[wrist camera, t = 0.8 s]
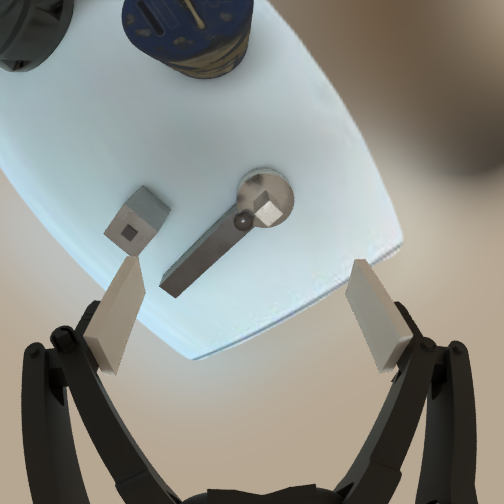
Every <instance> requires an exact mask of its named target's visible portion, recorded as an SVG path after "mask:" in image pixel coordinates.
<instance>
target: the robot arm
mask: <svg viewBox="0 0 504 504" xmlns="http://www.w3.org/2000/svg"><path fill="white" fill-rule="evenodd" d="M72 12H73V0H0V67H1V68H3V69H5V70H7V71H10V72H24V71H28V70H31V69H33V68H35V67H36V66H38V65H39V64H41V63H42V62H43V61H44V60H45V59H46V58H47V57H48V56H49V55H50V54H51V53H52V52H53V51H54V49H55V48H56V47H57V45H58V44H59V43H60V41H61V39H62V38H63V36H64V34H65V32H66V30H67V28H68V26H69V23H70V20H71V17H72ZM145 294H146V292H145V287H144V283H143V278H142V273H141V268H140V263H139V258H138V257H133V256H127V257H126V259H125V260H124V262H123V264H122V265H121V267H120V269H119V270H118V272H117V274H116V275H115V277H114V279H113V281H112V282H111V284H110V286H109V288H108V289H107V291H106V293H105V295H104V297H103V298H102V300H101V301H96V300H95V301H93V302H92V303H91V304H90V305H89V306H88V307H87V309H86V310H85V312H84V314H83V316H82V317H81V320H80V321H79V323H78V325H77V327H76V329H75V330H73V328H72V327H70V326H61V327H58V328H56V329H55V330H54V331H53V332H52V334H51V336H50V341H51V342H52V344H53V346H54V348H52V349H45V348H44V346H43V345H42V344H41V343H39V342H35V343H32V344H30V345H29V346H28V347H27V348H26V349H25V352H24V359H23V371H22V392H21V398H22V399H21V407H22V408H21V409H22V411H21V413H22V434H23V447H24V456H25V463H26V470H27V476H28V482H29V487H30V492H31V496H32V500H33V504H90V502H89V499H88V496H87V493H86V490H85V486H84V482H83V479H82V475H81V471H80V468H79V464H78V459H77V455H76V450H75V445H74V440H73V435H72V429H71V423H70V416H69V409H68V400H67V390H66V387H67V386H69V389H70V391H71V394H72V397H73V399H74V402H75V404H76V407H77V409H78V411H79V414H80V416H81V418H82V421H83V423H84V425H85V427H86V429H87V431H88V433H89V436H90V438H91V439H92V442H93V444H94V445H95V447H96V449H97V451H98V453H99V455H100V457H101V459H102V460H103V462H104V464H105V466H106V467H107V469H108V471H109V472H110V474H111V476H112V477H113V479H114V481H115V483H116V484H115V487H116V489H117V491H118V493H119V494H120V496H121V497H122V499H123V500H124V502H125V503H126V504H388V503H389V501H390V499H391V497H392V496H393V494H394V492H395V490H396V487H397V486H398V483H399V481H400V479H401V476H402V473H401V471H400V468H401V465H402V463H403V461H404V458H405V456H406V454H407V451H408V449H409V447H410V444H411V441H412V439H413V436H414V433H415V431H416V428H417V425H418V422H419V419H420V416H421V413H422V410H423V407H424V403H425V400H426V397H427V415H426V431H425V441H424V451H423V459H422V466H421V472H420V478H419V484H418V489H417V495H416V501H415V504H478V502H477V496H476V490H475V473H476V451H477V434H476V410H475V398H474V388H473V380H472V373H471V367H470V360H469V354H468V350H467V348H466V346H465V345H464V344H463V343H461V342H459V341H452V342H451V343H450V344H449V345H448V347H442V346H437V345H436V343H435V342H434V341H433V340H431V339H430V338H427V337H423V335H422V334H421V332H420V330H419V329H418V327H417V325H416V324H415V322H414V321H413V320H412V317H411V316H410V315H409V313H408V311H407V309H406V308H405V307H404V306H403V305H402V304H401V303H400V302H393V300H392V299H391V297H390V296H389V294H388V293H387V291H386V290H385V288H384V287H383V285H382V284H381V282H380V280H379V279H378V277H377V276H376V274H375V273H374V271H373V270H372V268H371V267H370V265H369V264H368V262H367V261H366V260H365V259H355V260H354V264H353V268H352V272H351V276H350V279H349V283H348V287H347V290H346V293H345V295H346V297H347V299H348V302H349V304H350V306H351V308H352V310H353V312H354V315H355V317H356V319H357V321H358V323H359V326H360V328H361V330H362V332H363V334H364V337H365V339H366V341H367V344H368V346H369V348H370V351H371V353H372V355H373V358H374V360H375V363H376V365H377V367H378V370H379V372H380V373H385V372H390V371H392V370H393V369H394V367H395V366H396V364H397V366H398V368H399V370H398V372H397V373H396V375H395V376H394V378H393V379H392V381H391V382H393V384H392V386H391V389H390V391H389V393H388V396H387V398H386V400H385V402H384V405H383V407H382V409H381V411H380V413H379V415H378V418H377V420H376V422H375V424H374V426H373V428H372V430H371V432H370V434H369V436H368V438H367V440H366V441H365V443H364V445H363V447H362V449H361V450H360V452H359V454H358V456H357V457H356V459H355V461H354V463H353V464H352V466H351V468H350V469H349V471H348V473H347V474H346V476H345V477H344V478H343V479H342V480H341V482H340V483H339V484H338V485H337V486H336V488H335V489H334V490H333V491H331V490H327V489H323V488H316V484H310V485H303V486H295V487H288V488H285V489H282V490H279V491H276V492H273V493H269V494H266V495H258V494H253V493H247V492H242V491H238V490H221V489H220V490H219V489H207V493H202V494H198V495H195V496H193V497H190V498H188V499H186V500H184V501H183V502H182V501H181V500H180V499H179V497H177V495H176V494H175V493H174V492H173V491H172V489H171V488H170V487H169V486H168V485H167V484H166V483H165V482H164V480H163V479H162V478H161V477H160V475H159V474H158V473H157V471H156V470H155V469H154V467H153V466H152V465H151V463H150V462H149V461H148V459H147V458H146V456H145V455H144V453H143V452H142V451H141V449H140V448H139V446H138V445H137V444H136V442H135V440H134V439H133V437H132V436H131V434H130V432H129V431H128V429H127V427H126V426H125V424H124V423H123V421H122V419H121V417H120V416H119V414H118V412H117V410H116V409H115V407H114V405H113V403H112V401H111V400H110V398H109V396H108V394H107V392H106V390H105V388H104V386H103V384H102V382H101V380H100V378H99V376H98V374H97V370H98V367H99V368H100V369H101V371H102V373H104V374H109V375H116V374H117V371H118V368H119V365H120V362H121V359H122V356H123V353H124V350H125V347H126V344H127V341H128V338H129V336H130V333H131V330H132V327H133V324H134V322H135V319H136V317H137V314H138V311H139V309H140V306H141V304H142V301H143V299H144V296H145Z"/></svg>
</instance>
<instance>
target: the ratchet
mask: <svg viewBox="0 0 504 504" xmlns="http://www.w3.org/2000/svg"><path fill="white" fill-rule="evenodd" d="M293 206H294V195H293V191H292V189H291V187H290V186H289V184H288V182H287V181H286V179H285V178H284V176H283V175H281V174H280V173H279V172H277V171H275V170H273V169H269V168H259V169H255V170H253V171H251V172H249V173H247V174H246V175H245V176H244V177H243V178H242V180H241V181H240V183H239V185H238V189H237V203H236V204H235V205H234V206H233V207H232V208H231V209H230V210H229V211H228V212H227V213H225V214H224V215H223V216H222V217H221V218H220V219H219V220H218V221H217V222H216V223H215V224H214V225H213V226H212V227H211V228H210V229H209V230H208V231H207V232H206V233H205V234H204V235H203V236H202V237H201V238H200V239H199V240H198V241H197V242H196V243H195V244H194V245H193V246H192V247H191V248H190V249H189V250H188V251H187V252H186V253H185V254H184V255H183V256H182V257H181V258H180V259H179V260H178V261H177V262H176V263H175V264H174V265H173V266H172V267H171V268H170V269H169V270H168V271H167V272H166V273H165V274H164V275H163V277H162V280H161V282H160V285H159V287H160V288H162V289H163V290H165V291H166V292H167V293H169V294H170V295H171V296H173V297H174V298H177V297H178V296H179V295H180V294H181V293H182V292H183V291H184V290H185V289H186V288H188V287H189V286H190V285H191V284H192V283H193V282H194V281H195V280H196V279H197V278H198V277H200V276H201V275H202V274H203V273H204V272H205V271H206V270H207V269H208V268H209V267H210V266H212V265H213V264H214V263H215V262H216V261H217V260H218V259H219V258H220V257H221V256H223V255H224V254H225V253H226V252H227V251H228V250H229V249H230V248H231V247H233V246H234V245H235V244H236V243H237V242H238V241H239V240H240V239H241V238H243V237H244V236H245V235H246V234H247V233H248V232H249V231H250V230H251V229H253V228H254V227H255V226H256V227H260V228H269V227H273V226H276V225H279V224H280V223H282V222H283V221H285V220H286V219H287V218H288V216H289V215H290V213H291V211H292V209H293Z"/></svg>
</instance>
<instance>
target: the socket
mask: <svg viewBox="0 0 504 504" xmlns="http://www.w3.org/2000/svg"><path fill="white" fill-rule="evenodd" d="M170 211H171V209H169V208H168V207H167V206H166V205H165V204H164V203H162V202H161V201H160V200H159V199H158V198H157V197H155V196H154V195H153V194H152V193H151V192H150V191H148V190H147V189H146V188H145V187H144V186H142V187H141V188H140V189H139V190H138V191H137V192H136V193H135V194H134V195H133V196H132V197H131V198H130V199H129V200H128V201H127V202H126V203H125V204H124V205H123V206H122V208H121V209H120V210H119V212H118V213H117V215H116V216H115V217H114V219H113V220H112V222H111V223H110V225H109V226H108V228H107V229H106V230H105V232H104V233H103V234H104V235H105V236H107V237H108V238H109V239H110V240H111V241H113V242H114V243H115V244H116V245H117V246H119V247H120V248H121V249H122V250H124V251H125V252H126V253H127V254H128V255H130V256H133V257H137V256H138V255H139V254H140V253H141V251H142V250H143V249H144V248H145V247H146V246H147V244H148V243H149V242H150V241H151V240H152V238H153V237H154V236H155V235H156V234H157V233H158V231H159V230H160V228H161V226H162V224H163V223H164V221H165V219H166V218H167V216H168V214H169V212H170Z"/></svg>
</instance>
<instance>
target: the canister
mask: <svg viewBox="0 0 504 504" xmlns="http://www.w3.org/2000/svg"><path fill="white" fill-rule="evenodd" d="M253 5H254V0H125V1H124V5H123V8H122V25H123V29H124V31H125V33H126V35H127V37H128V39H129V40H130V41H131V43H132V44H133V45H134V46H136V47H137V48H138V49H139V50H141V51H142V52H144V53H146V54H147V55H149V56H151V57H153V58H155V59H156V60H159V61H160V62H162V63H163V64H165V65H167V66H169V67H171V68H172V69H174V70H176V71H179V72H181V73H182V74H184V75H186V76H189V77H192V78H197V79H211V78H216V77H220V76H222V75H225V74H227V73H228V72H230V71H231V70H233V69H234V68H235V67H236V66H237V65H238V64H239V63H240V62H241V61H242V59H243V58H244V56H245V53H246V51H247V46H248V40H249V34H250V29H251V21H252V14H253Z"/></svg>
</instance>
